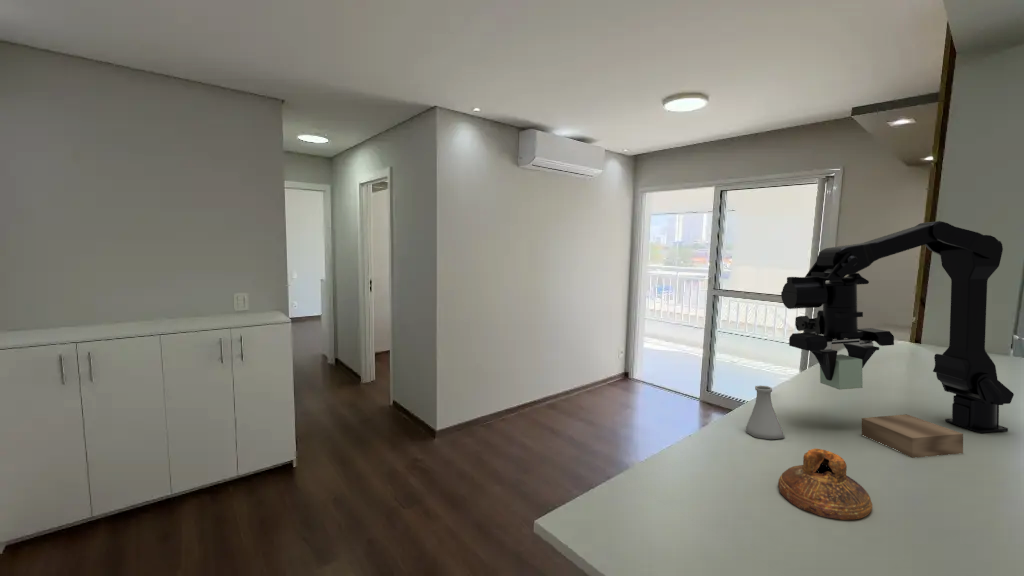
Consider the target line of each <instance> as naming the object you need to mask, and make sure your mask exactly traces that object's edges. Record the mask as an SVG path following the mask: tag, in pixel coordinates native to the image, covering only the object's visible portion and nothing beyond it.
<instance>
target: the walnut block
mask: <svg viewBox="0 0 1024 576" xmlns="http://www.w3.org/2000/svg"><path fill="white" fill-rule="evenodd" d="M862 435H864V436H866V437H868V438H867V439H869V438H871V439H873V440H875V441H877V442H876V443H878V442H880V443H882V444H884V445H883V446H885V445H887V446H889V447H891V448H894V449H896V450H898V451H900V452H902V453H901V454H903V453H904V454H903V455H905V454H906V455H905V456H907V455H908V457H909V456H910V457H909V458H912V459H916V458H915V457H917V458H926V457H925V456H928V457H936V456H937V455H939V456H949V455H948V454H950V455H959V453H961V454H964V433H963V432H959V431H956V430H955V429H954V430H953V429H951V428H947V427H944V426H941V425H939V424H936V423H934V422H930V421H928V420H924V419H921V418H918V417H916V416H913V415H910V414H905V413H904V414H898V415H897V414H896V415H895V414H894V415H883V416H882V415H881V416H871V417H861V436H862ZM864 436H863V437H864ZM866 437H865V438H866ZM871 439H870V440H871ZM873 440H872V441H873ZM875 441H874V442H875ZM880 443H879V444H880ZM882 444H881V445H882ZM887 446H886V447H887ZM889 447H888V448H889ZM891 448H890V449H891ZM894 449H893V450H894ZM896 450H895V451H896ZM898 451H897V452H898ZM900 452H899V453H900Z"/></svg>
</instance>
